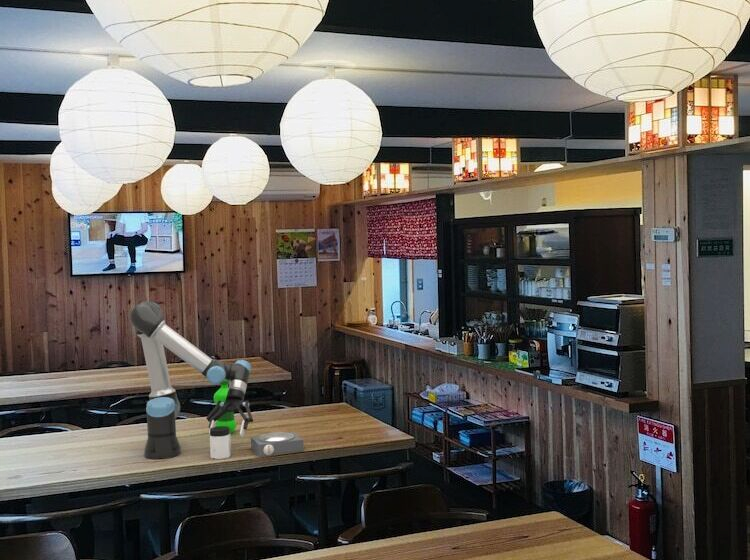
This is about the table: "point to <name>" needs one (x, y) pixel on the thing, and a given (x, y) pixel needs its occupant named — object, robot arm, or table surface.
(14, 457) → the table surface
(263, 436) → the scale pan
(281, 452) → the scale body
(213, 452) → the jar
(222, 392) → the plastic bottle
